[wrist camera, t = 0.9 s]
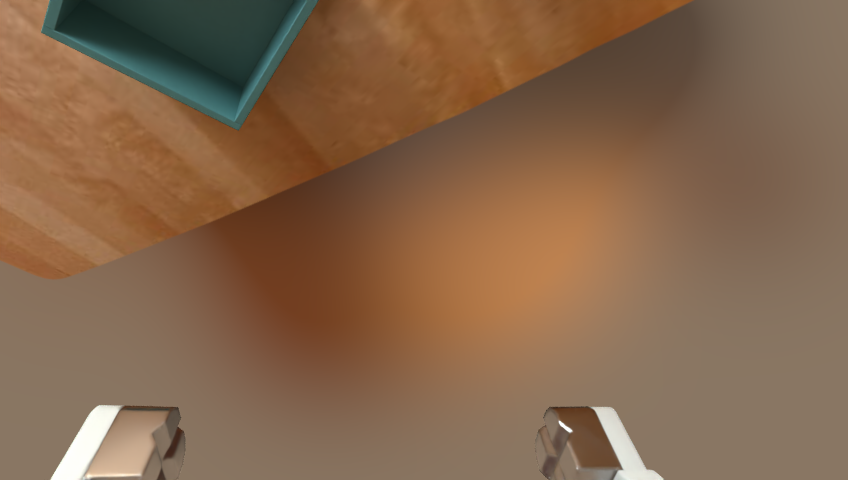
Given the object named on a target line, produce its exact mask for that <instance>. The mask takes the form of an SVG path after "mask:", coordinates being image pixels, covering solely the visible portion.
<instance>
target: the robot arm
mask: <svg viewBox="0 0 848 480" xmlns="http://www.w3.org/2000/svg"><path fill="white" fill-rule="evenodd" d="M543 418H544V421H545V424H546V425H545V426H543V427H542V428H541V429H539V431H538V434H537V437H536V446H535V447H536V448H535V452H536V458H537V462H538V466H539V469H540V472H541V473H542V474H543V475H544V476H545V477H546V478H547V479H548V480H664V479H663V478H662V477H661V476H660V475H658V474H657V473H656V472H655V471H653V470H647V469H646V468H645V466H644V464H643V462H642V460H641V458H640V456H639V454H638V452H637V451H636V449H635V447H634V445H633V443H632V441H631V439H630V437H629V436H628V434H627V432H626V430H625V428H624V426H623V424H622V422H621V421H620V419H619V417H618V415H617V413H616V411H615V410H613V408H612V407H549V408H548V409H547V410H546V412H545V415H544V417H543ZM180 419H181V416H180V412H179V408H178V407H153V406H109V405H107V406H106V405H105V406H104V405H100V406H99V405H98V406H97V407H96V408H95V409H94V410H93V411H92V412H91V413H90V414H89V416H88V418H87V419H86V421H85V422H84V424H83V426H82V428H81V430H80V431H79V433H78V434H77V436H76V438H75V439H74V441H73V443H72V444H71V446H70V448H69V449H68V451H67V453H66V454H65V456H64V458H63V460H62V461H61V463H60V465H59V466H58V468H57V470H56V471H55V473H54V475H53V476H52V478H51V480H176V479H177V478H178V477H179V474H180V471H181V468H182V465H183V460H184V455H185V434H184V431H183V430H181V429H180V428H179V427H178V424H179V421H180Z"/></svg>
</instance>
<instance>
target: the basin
mask: <svg viewBox="0 0 848 480" xmlns="http://www.w3.org/2000/svg"><path fill="white" fill-rule="evenodd" d="M318 1H319V0H50V1H49V5H48V8H47V12H46V16H45V19H44V23H43V27H42V31H41V33H43V34H45V35H47V36H49V37H51V38H53V39H55V40H57V41H59V42H61V43H63V44H65V45H67V46H69V47H71V48H73V49H75V50H77V51H79V52H81V53H83V54H85V55H87V56H89V57H91V58H93V59H95V60H97V61H99V62H101V63H103V64H105V65H107V66H109V67H111V68H113V69H115V70H117V71H119V72H121V73H123V74H125V75H127V76H130V77H132V78H134V79H136V80H138V81H140V82H142V83H144V84H146V85H148V86H150V87H152V88H154V89H156V90H158V91H160V92H162V93H164V94H166V95H168V96H170V97H172V98H174V99H176V100H178V101H180V102H182V103H184V104H186V105H188V106H190V107H192V108H194V109H196V110H198V111H200V112H202V113H204V114H206V115H208V116H210V117H212V118H214V119H216V120H218V121H220V122H222V123H224V124H226V125H228V126H230V127H232V128H234V129H236V130H238V131H239V129H240V128H241V126H242V124H243V123H244V121H245V120H246V118H247V116H248V115H249V113H250V111H251V110H252V108H253V107H254V105H255V103H256V102H257V100H258V98H259V97H260V95H261V94H262V92H263V90H264V89H265V87H266V85H267V84H268V82H269V81H270V79H271V77H272V76H273V74H274V72H275V71H276V69H277V68H278V66H279V64H280V63H281V61H282V59H283V58H284V56H285V55H286V53H287V51H288V50H289V48H290V46H291V45H292V43H293V42H294V40H295V38H296V37H297V35H298V33H299V32H300V30H301V29H302V27H303V25H304V24H305V22H306V20H307V19H308V17H309V16H310V14H311V12H312V11H313V9H314V7H315V6H316V4H317V3H318Z"/></svg>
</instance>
